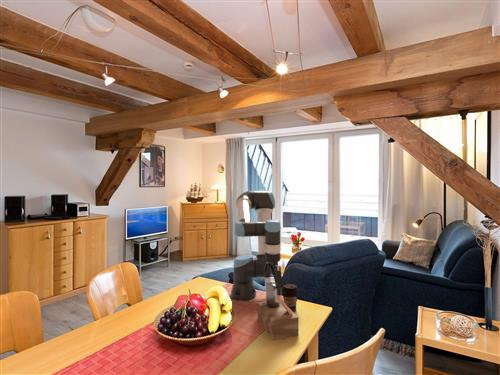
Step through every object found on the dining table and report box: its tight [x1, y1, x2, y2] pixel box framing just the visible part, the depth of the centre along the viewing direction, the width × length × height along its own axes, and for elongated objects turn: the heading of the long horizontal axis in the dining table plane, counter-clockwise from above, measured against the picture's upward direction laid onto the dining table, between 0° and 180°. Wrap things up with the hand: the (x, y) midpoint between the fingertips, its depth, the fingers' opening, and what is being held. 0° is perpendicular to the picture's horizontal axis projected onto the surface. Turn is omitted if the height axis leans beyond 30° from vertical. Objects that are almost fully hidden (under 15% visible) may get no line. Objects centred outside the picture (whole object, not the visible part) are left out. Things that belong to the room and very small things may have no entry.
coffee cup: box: [281, 283, 299, 313], centre depth 146 cm, size 9×8×13 cm
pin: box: [265, 281, 280, 308], centre depth 135 cm, size 6×6×15 cm
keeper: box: [276, 296, 293, 316], centre depth 125 cm, size 5×9×1 cm
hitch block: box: [257, 300, 300, 341], centre depth 130 cm, size 20×12×8 cm, turn 17°
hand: (272, 295), depth 135 cm, fingers open, 13 cm apart
